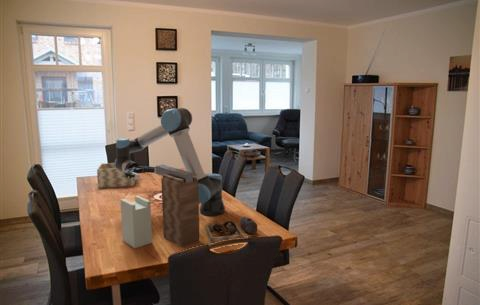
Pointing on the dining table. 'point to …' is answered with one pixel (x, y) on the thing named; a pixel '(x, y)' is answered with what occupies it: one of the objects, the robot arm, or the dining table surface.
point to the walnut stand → (180, 210)
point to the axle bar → (175, 173)
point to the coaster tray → (217, 239)
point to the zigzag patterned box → (112, 177)
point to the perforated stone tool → (248, 225)
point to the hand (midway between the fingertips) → (150, 175)
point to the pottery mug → (225, 228)
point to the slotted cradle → (136, 222)
